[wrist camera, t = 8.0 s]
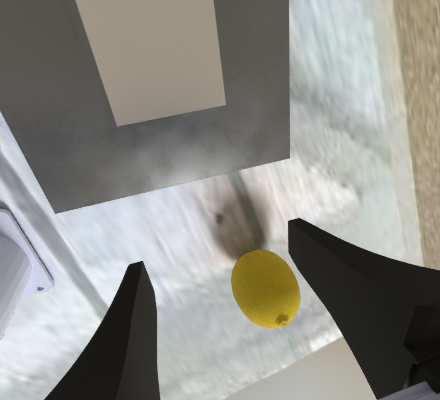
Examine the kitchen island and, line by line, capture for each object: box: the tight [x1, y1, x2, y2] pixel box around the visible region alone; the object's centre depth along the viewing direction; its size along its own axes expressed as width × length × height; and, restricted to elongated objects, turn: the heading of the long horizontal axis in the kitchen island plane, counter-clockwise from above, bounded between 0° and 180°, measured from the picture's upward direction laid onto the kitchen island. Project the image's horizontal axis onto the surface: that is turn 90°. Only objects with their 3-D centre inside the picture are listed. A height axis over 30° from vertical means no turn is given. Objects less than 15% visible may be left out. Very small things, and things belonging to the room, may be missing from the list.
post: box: [76, 0, 226, 126], centre depth 10 cm, size 3×3×8 cm
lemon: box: [231, 250, 300, 328], centre depth 24 cm, size 6×6×8 cm
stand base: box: [0, 0, 290, 214], centre depth 15 cm, size 18×18×5 cm
